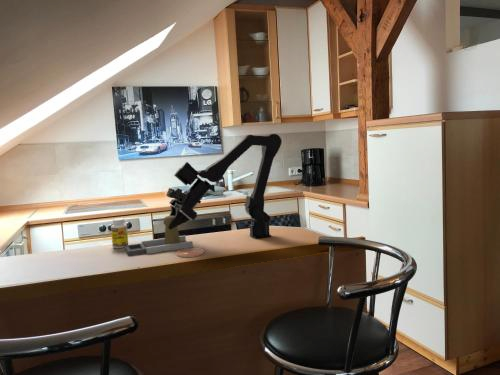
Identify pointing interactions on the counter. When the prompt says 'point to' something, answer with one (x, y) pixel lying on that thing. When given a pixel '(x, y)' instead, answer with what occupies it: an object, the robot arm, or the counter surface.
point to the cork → (170, 232)
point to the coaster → (190, 252)
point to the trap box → (135, 249)
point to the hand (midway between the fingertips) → (167, 227)
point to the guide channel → (165, 247)
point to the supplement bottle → (119, 233)
